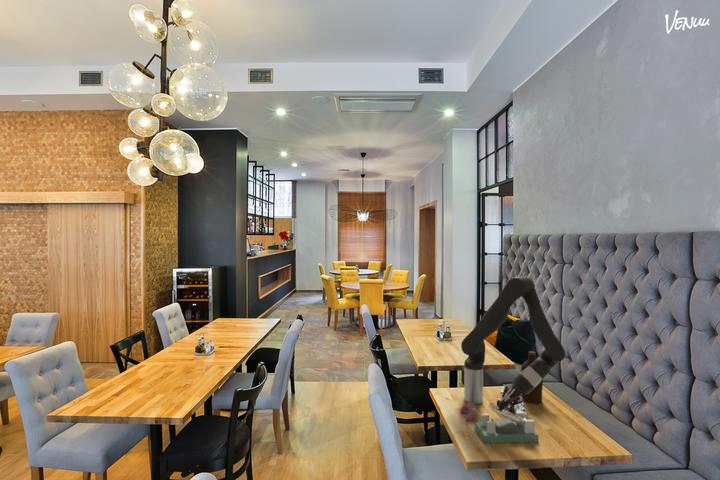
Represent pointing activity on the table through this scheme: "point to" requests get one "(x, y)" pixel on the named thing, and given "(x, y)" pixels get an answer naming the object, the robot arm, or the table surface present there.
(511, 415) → the retention strap
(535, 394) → the olive oil
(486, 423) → the clip base
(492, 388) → the table surface
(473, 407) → the pink rounded lump
